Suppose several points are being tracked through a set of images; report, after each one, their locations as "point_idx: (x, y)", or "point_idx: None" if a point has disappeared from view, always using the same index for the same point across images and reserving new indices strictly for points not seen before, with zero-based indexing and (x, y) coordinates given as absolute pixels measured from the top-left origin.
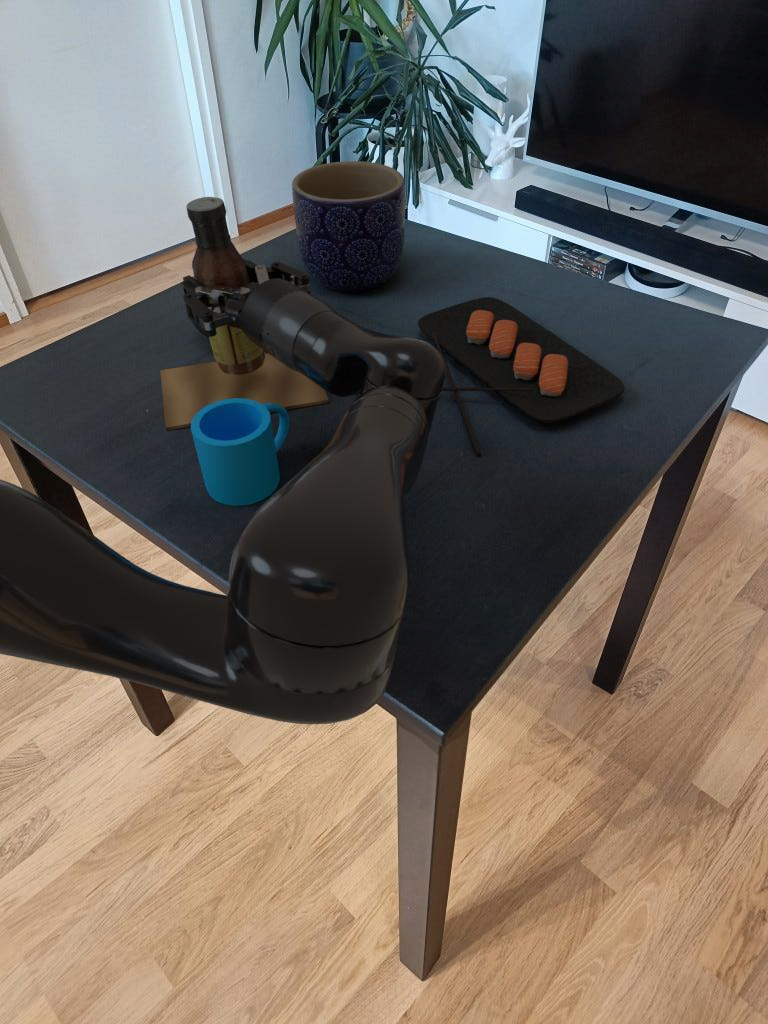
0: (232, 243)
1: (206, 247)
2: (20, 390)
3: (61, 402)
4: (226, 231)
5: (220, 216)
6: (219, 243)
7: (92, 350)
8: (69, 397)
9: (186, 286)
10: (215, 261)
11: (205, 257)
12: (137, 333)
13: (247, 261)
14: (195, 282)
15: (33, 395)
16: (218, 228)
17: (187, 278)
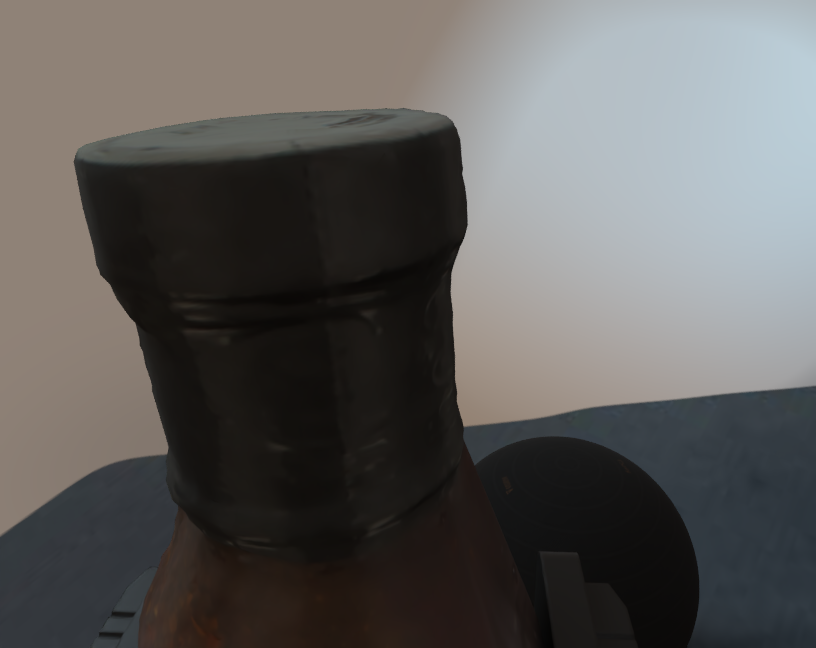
0: (437, 536)
1: (172, 494)
2: (50, 518)
3: (29, 612)
4: (375, 434)
5: (284, 274)
6: (255, 519)
7: None
8: (58, 606)
9: (112, 623)
10: (196, 637)
11: (180, 549)
12: None
13: (592, 631)
14: (134, 643)
15: (39, 548)
16: (260, 388)
17: None
